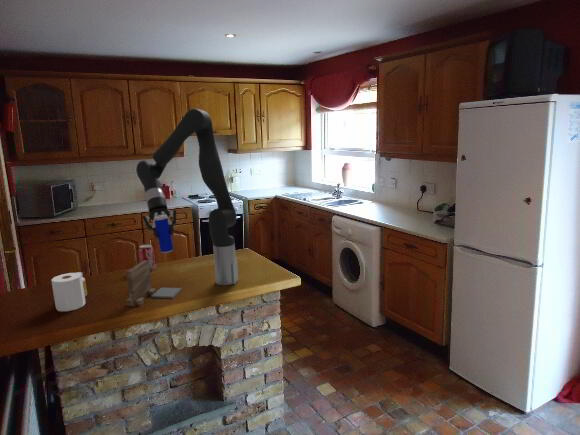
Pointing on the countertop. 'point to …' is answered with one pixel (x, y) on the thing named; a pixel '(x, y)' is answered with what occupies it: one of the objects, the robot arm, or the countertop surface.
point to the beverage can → (163, 233)
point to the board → (139, 284)
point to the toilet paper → (68, 291)
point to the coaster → (166, 293)
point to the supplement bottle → (83, 284)
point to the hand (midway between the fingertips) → (164, 235)
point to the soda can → (147, 255)
